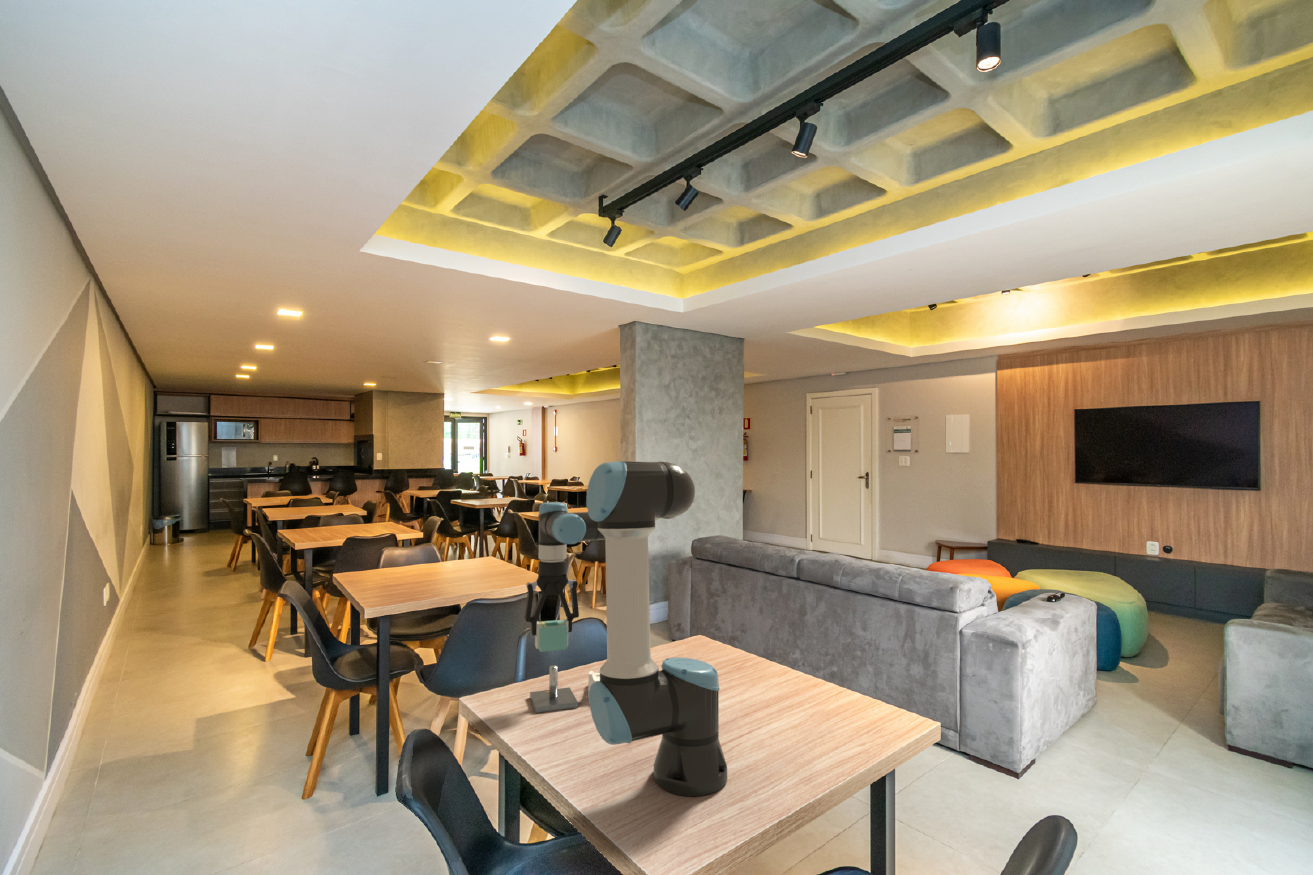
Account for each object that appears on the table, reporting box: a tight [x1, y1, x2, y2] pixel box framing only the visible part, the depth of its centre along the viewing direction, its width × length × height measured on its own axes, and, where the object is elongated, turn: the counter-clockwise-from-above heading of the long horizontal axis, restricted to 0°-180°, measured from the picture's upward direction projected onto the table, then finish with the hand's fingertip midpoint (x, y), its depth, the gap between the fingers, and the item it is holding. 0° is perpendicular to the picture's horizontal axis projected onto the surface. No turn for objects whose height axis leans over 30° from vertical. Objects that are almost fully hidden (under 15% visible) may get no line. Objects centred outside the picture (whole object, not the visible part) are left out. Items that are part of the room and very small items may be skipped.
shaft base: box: [529, 664, 579, 714], centre depth 163 cm, size 11×11×10 cm
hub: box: [538, 619, 568, 653], centre depth 163 cm, size 7×7×7 cm
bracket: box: [587, 670, 600, 702], centre depth 171 cm, size 13×7×8 cm, turn 0°
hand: (551, 645), depth 163 cm, fingers closed on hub, 7 cm apart
